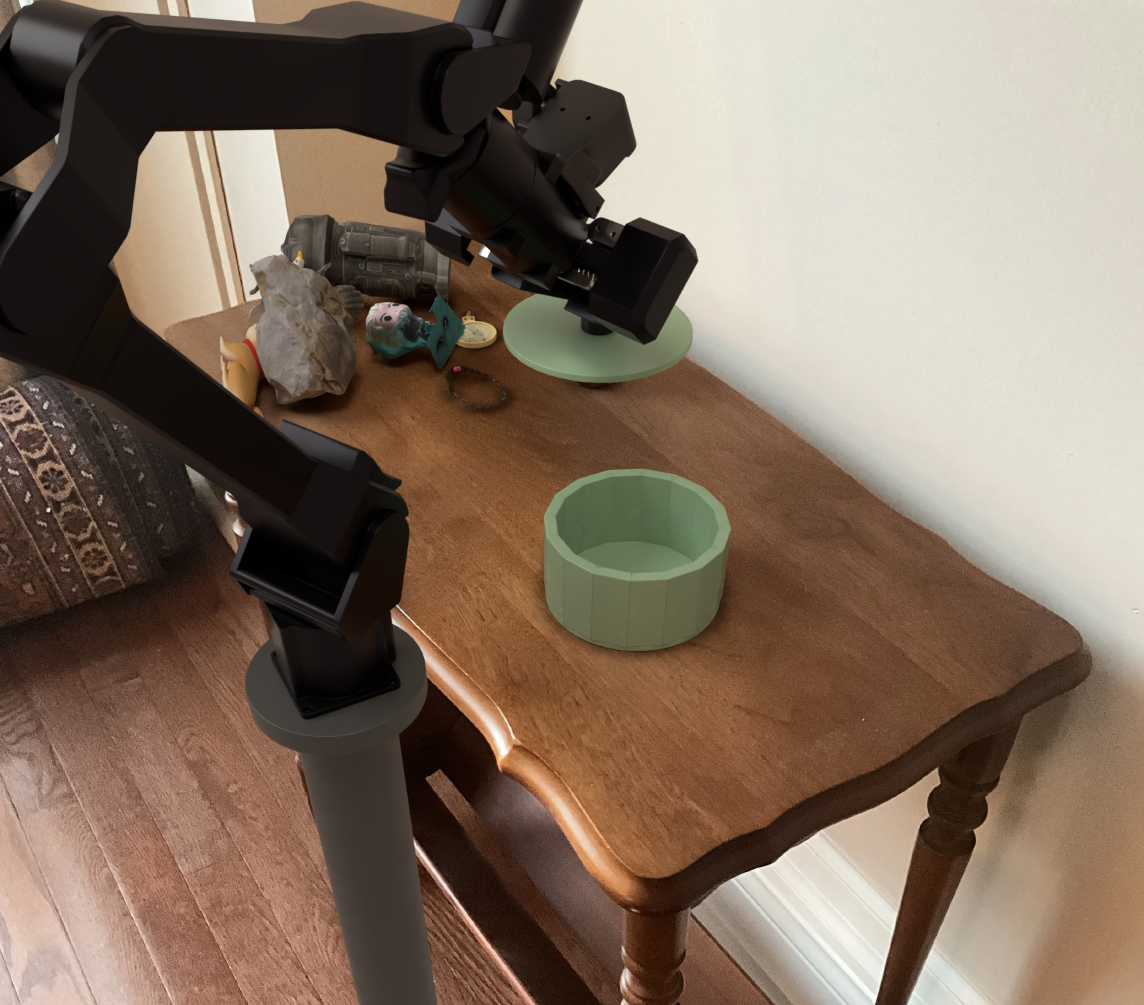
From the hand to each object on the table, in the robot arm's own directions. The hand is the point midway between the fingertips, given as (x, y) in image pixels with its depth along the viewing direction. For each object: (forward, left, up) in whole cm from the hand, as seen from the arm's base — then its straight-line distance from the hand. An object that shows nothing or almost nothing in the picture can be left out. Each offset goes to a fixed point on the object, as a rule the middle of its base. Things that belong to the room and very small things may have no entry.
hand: (612, 303), depth 80 cm
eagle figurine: (-16, +36, -10) cm, 40 cm away
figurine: (-5, +20, -8) cm, 22 cm away
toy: (-23, +23, -11) cm, 35 cm away
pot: (-5, -13, -13) cm, 20 cm away
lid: (-1, 0, -2) cm, 2 cm away
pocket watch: (0, +25, -14) cm, 28 cm away
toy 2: (+1, +30, -10) cm, 32 cm away
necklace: (-4, +15, -13) cm, 21 cm away
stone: (-14, +25, -12) cm, 31 cm away
